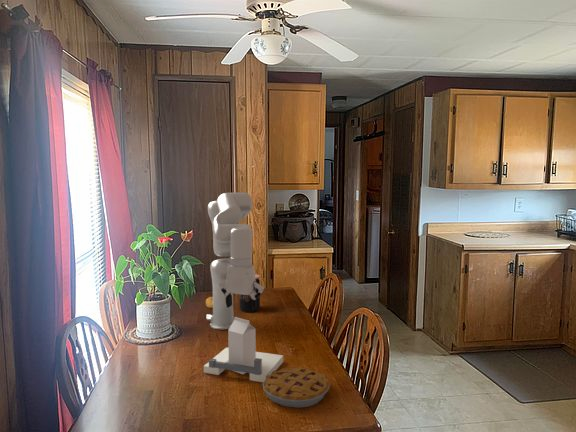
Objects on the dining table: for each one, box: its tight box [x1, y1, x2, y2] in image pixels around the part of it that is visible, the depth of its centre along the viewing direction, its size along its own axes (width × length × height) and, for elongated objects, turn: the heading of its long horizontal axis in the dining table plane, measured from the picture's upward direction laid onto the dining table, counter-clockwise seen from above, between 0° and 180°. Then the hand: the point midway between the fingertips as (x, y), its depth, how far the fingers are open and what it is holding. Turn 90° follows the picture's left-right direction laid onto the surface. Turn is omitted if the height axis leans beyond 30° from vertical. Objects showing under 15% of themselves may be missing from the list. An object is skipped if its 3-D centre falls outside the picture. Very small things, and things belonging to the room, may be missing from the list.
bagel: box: [205, 296, 213, 309], centre depth 242 cm, size 10×11×5 cm
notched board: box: [203, 347, 284, 383], centre depth 167 cm, size 24×18×2 cm
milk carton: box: [227, 316, 257, 375], centre depth 165 cm, size 7×7×19 cm
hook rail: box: [208, 357, 262, 375], centre depth 159 cm, size 20×2×5 cm, turn 71°
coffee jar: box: [238, 273, 261, 313], centre depth 235 cm, size 11×11×18 cm
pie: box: [262, 366, 331, 408], centre depth 148 cm, size 22×22×5 cm
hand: (241, 307), depth 164 cm, fingers open, 9 cm apart
